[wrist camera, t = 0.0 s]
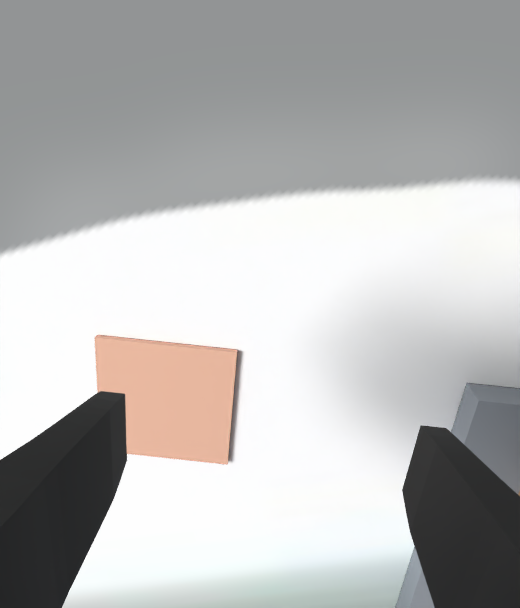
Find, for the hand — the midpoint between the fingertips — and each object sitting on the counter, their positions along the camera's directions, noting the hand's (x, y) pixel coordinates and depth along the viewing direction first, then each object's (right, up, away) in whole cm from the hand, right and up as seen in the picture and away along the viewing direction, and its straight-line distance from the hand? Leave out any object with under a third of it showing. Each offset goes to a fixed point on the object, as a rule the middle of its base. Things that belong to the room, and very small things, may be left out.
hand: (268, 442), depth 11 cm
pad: (-5, -2, +13) cm, 14 cm away
